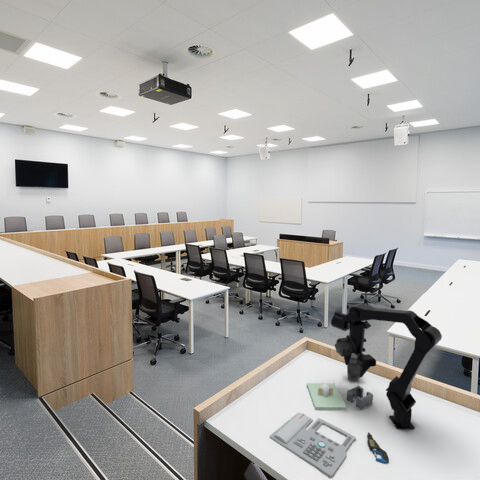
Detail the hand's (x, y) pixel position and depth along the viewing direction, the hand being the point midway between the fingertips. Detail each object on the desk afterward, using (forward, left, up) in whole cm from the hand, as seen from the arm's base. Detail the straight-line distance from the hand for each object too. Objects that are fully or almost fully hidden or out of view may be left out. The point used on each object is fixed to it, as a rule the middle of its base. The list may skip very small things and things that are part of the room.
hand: (353, 370), depth 130 cm
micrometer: (-26, +1, -13) cm, 29 cm away
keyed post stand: (0, +11, -12) cm, 16 cm away
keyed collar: (-3, -2, -12) cm, 12 cm away
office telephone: (-23, +21, -13) cm, 33 cm away
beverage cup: (+13, -5, -12) cm, 19 cm away
